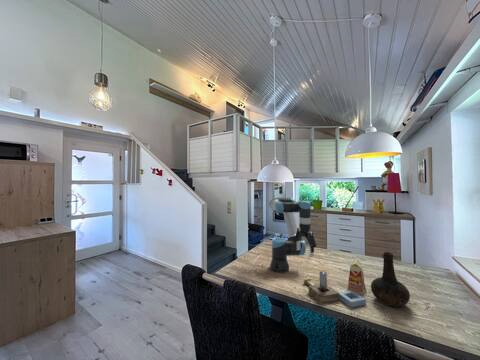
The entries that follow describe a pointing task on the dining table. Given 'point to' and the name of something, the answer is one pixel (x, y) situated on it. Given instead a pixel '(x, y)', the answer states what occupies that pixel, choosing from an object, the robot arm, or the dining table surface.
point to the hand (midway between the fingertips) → (304, 253)
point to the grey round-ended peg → (323, 281)
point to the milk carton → (356, 278)
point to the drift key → (308, 281)
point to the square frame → (353, 302)
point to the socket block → (323, 294)
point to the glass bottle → (390, 285)
